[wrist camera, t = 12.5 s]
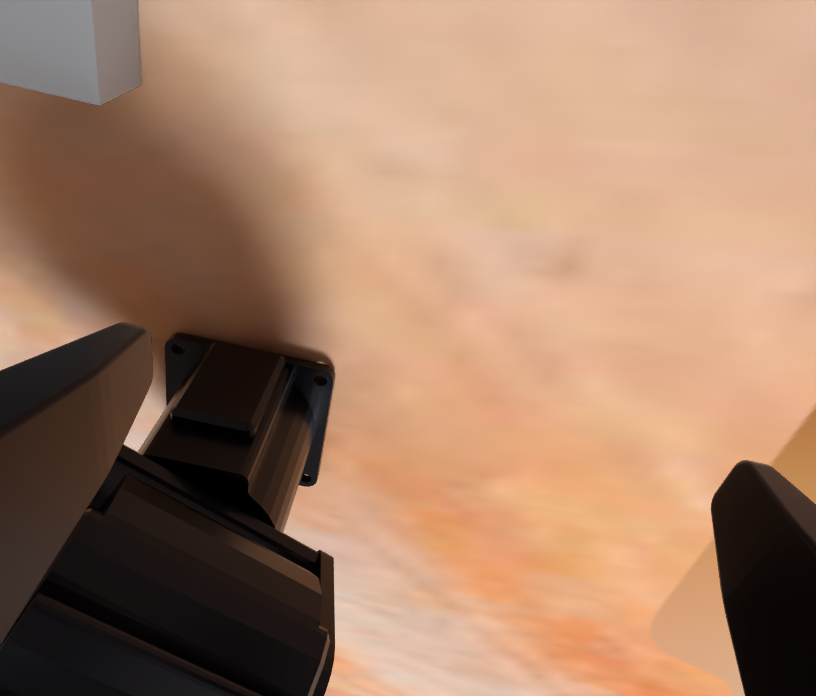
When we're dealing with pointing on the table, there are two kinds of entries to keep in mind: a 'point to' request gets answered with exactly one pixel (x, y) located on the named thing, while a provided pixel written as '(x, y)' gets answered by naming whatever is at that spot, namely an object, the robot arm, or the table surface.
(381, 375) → the table surface
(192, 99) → the table surface
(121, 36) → the gray and yellow box
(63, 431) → the robot arm
